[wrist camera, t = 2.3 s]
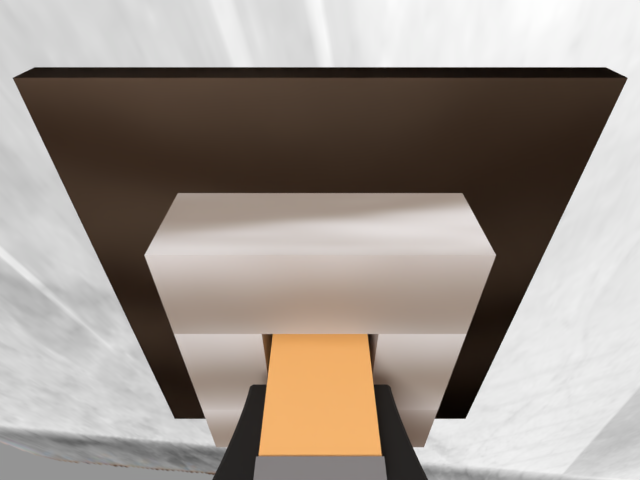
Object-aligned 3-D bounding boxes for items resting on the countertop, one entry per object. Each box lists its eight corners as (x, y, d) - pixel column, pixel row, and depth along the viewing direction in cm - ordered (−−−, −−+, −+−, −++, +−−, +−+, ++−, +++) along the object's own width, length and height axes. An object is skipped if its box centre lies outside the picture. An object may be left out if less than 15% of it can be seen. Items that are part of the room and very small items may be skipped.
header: (34, 67, 11) (-81, 122, 8) (606, 67, 11) (721, 122, 8) (179, 401, 22) (156, 479, 19) (460, 401, 22) (483, 479, 19)
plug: (278, 273, 14) (253, 483, 9) (362, 273, 14) (387, 483, 9) (284, 341, 17) (268, 537, 11) (355, 341, 17) (372, 537, 11)
